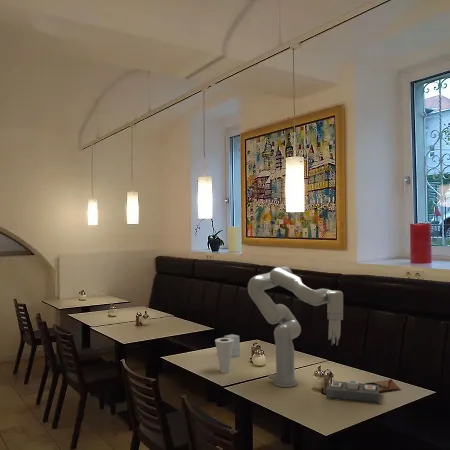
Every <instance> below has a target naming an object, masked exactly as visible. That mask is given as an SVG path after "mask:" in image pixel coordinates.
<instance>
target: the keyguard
mask: <svg viewBox="0 0 450 450" xmlns="http://www.w3.org/2000/svg"><path fill="white" fill-rule="evenodd" d="M332 381H333V382H335V383H342V388H333V387H329V386H328V385H327V386H326V390H325V396H326V397H325V399H326V398H330V399H329V400H335V399H339V400H338V401H346V400H347V402H356V403H357V402H359V403H367V404H368V403H369V404H379V402H380V393H379V385H373V384H365V383H360V382H358V383H359V389H358V390H356V389H347V382H348V381H337V380H336V381H335V380H332ZM365 385H371V386H376V391H368V390H364V388H365Z"/></svg>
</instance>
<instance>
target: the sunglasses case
mask: <svg viewBox="0 0 450 450" xmlns="http://www.w3.org/2000/svg"><path fill="white" fill-rule="evenodd" d="M364 384H373V385H379V394H383V393H391V392H397V391H402V389H401V388H400V387H399V386H398V385H397V384H396V383H395V382H394V381H393V379H388V380H380V381H374V382H365V383H364Z"/></svg>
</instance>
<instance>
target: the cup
mask: <svg viewBox="0 0 450 450" xmlns="http://www.w3.org/2000/svg"><path fill="white" fill-rule="evenodd" d="M233 342H234V340H233V339H231V338H224V337H219V338H216V339H215V340H214V343H215V349H216V353H217V360H218V365H219V370H220V373H221V374H228V373H229V372H230V370H231V369H230V368H231V367H230V366H231V360H232V358H231V355H232V349H233Z"/></svg>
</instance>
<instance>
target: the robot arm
mask: <svg viewBox="0 0 450 450" xmlns="http://www.w3.org/2000/svg"><path fill="white" fill-rule="evenodd" d="M278 286H279V287H282V288H284V289H285V290H288V291H290V292H292V293H293V294H294V295H295V296H296V297H297V299H299V300H301V301H303V302H305V303H306V304H308V305H312V306H314V307H317V306H321V305H325V304H327V308H326V310H327V314H326V315H327V316H326V318H327V320H328V331H327V332H328V336H327V337H328V338H327V340H328V341H330V340H331V345H330V346H331V354H335V355H336V354H337V355H338V354H339V340H340V338H341V329H342V328H341V321H343V320H344V293H343V291H341V290H331V289H329V288H318V289H312V288H310V287H308V286H307V285H305V284H304V283H303V280H302V278H301V276H298V275H296V274H294V273H293V272H292V270H291V268H290V267H288V266H284V265H283V266H278V267H274V268H273V269H271V270H270V271H269V272H266V273H261V274H257V275H254V276H252V277H251V278H250V279H249V281H248V283H247V292H248V295H249V297H250V298H251V300H252V302H253V303H254V304H255V305H256V307H257V308H258V310H259V311H260V313H261V314H262V316H263V317H264V319H265V320H266V322H267V323H268V324H271V325H276V324H278V325H277V326H276V327H275V328H274V331H273V337H274V345H275V373H274V374H271V373H268V376H267V378H269V380H273V385H274V386H276V387H281V388H293V387H295V386H297V385H298V380H297V379H295V347H294V343H293V340H294V339H295V338H298V337H299V336H300V334H302V333H301V332H302V327H301V325H300V323H299V321H298V320H297V319H296V317H295V315H294V314H293V313H292V312H291V309H290V308H289V307H287V306H286V305H285V304H282V303H278V304H277V303H275V302H274V300H272V298H271V296H269V295H268V294H267V293H266V292H265V291H266V290H270V289H272V288H275V287H278Z"/></svg>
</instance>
